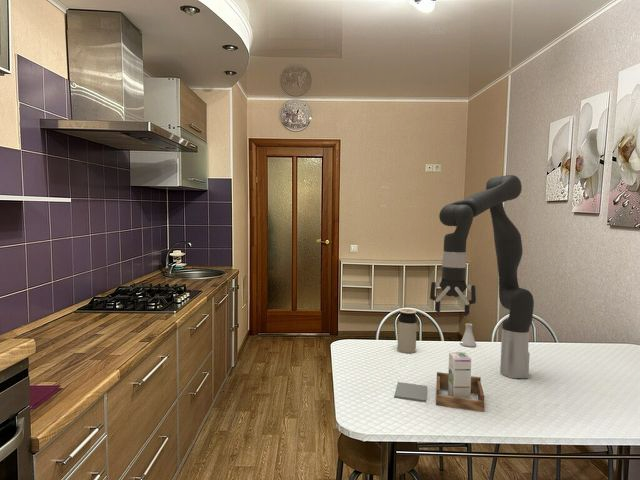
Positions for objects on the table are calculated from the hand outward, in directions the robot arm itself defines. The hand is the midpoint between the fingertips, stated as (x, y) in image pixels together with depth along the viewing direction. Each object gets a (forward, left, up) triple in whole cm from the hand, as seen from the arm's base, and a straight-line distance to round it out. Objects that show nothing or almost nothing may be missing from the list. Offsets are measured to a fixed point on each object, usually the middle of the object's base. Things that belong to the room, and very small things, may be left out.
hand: (451, 314), depth 133 cm
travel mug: (+17, -42, -27) cm, 52 cm away
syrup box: (-3, +3, -27) cm, 27 cm away
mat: (+12, +3, -27) cm, 29 cm away
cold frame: (-3, +3, -27) cm, 27 cm away
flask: (-10, -61, -27) cm, 67 cm away
